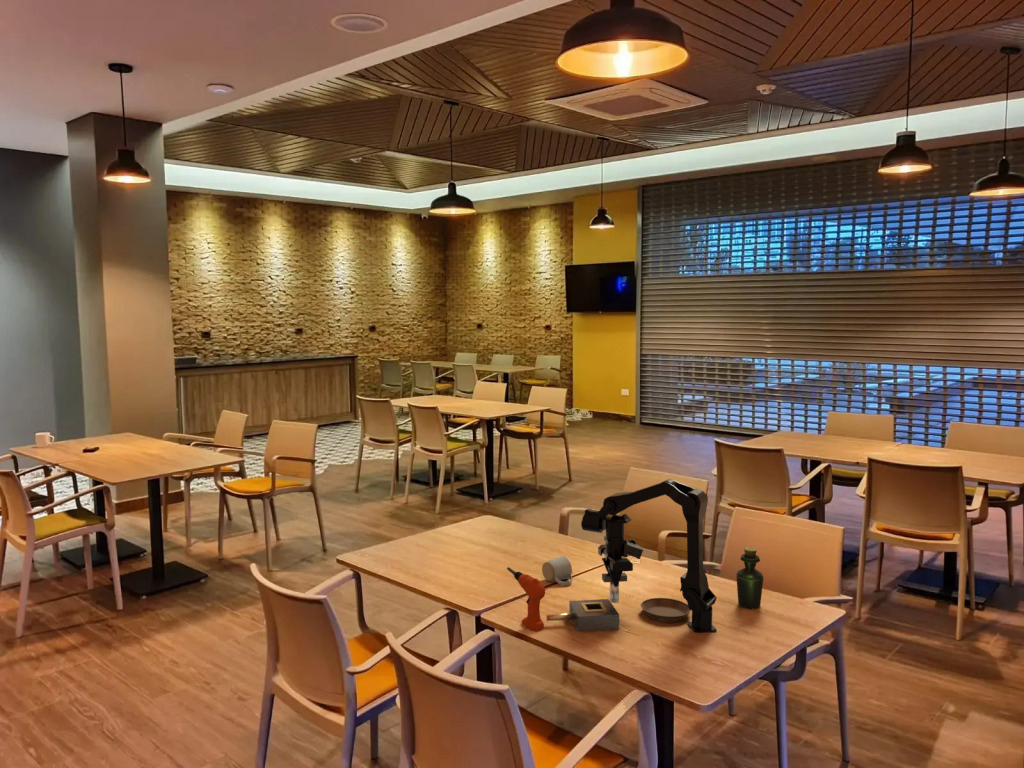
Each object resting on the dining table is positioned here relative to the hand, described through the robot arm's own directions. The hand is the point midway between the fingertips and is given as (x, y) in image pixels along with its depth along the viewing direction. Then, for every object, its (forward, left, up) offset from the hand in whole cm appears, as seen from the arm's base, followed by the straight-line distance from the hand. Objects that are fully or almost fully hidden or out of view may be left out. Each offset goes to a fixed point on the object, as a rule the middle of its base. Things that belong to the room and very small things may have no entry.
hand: (614, 584), depth 227 cm
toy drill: (-6, +29, -8) cm, 31 cm away
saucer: (-7, -14, -8) cm, 17 cm away
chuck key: (0, 0, -5) cm, 5 cm away
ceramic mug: (+26, +12, -8) cm, 30 cm away
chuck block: (-10, +13, -7) cm, 18 cm away
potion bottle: (-4, -42, -8) cm, 43 cm away
